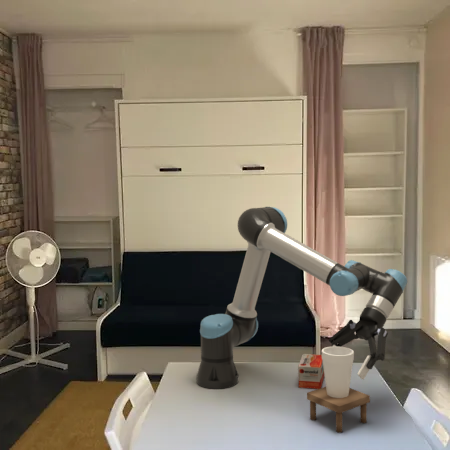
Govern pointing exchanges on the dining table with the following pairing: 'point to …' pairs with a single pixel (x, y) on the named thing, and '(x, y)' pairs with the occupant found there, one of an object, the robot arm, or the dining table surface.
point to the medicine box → (311, 371)
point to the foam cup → (337, 370)
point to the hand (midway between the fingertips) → (342, 370)
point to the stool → (339, 404)
